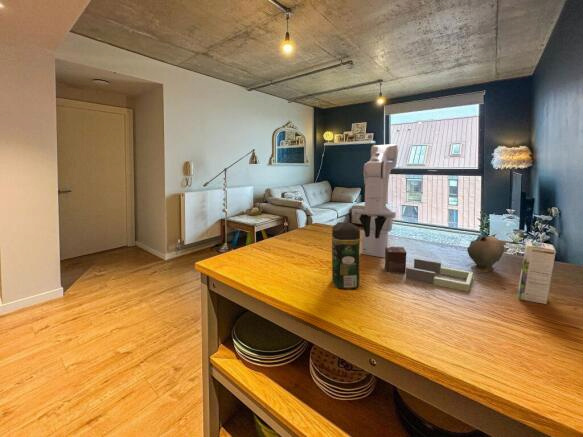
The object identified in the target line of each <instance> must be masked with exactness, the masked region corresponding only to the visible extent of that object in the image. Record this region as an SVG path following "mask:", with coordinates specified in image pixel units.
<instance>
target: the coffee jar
mask: <svg viewBox="0 0 583 437" xmlns="http://www.w3.org/2000/svg"><path fill="white" fill-rule="evenodd" d="M331 236H332V237H331V259H332V260H331V266H332V267H331V272H332V273H331V275H332V284H333V286H335V288H338V289H343V290H352V289H356V288H358V287H359V285H360V247H361V246H360V245H361V242H360V241H361V231H360V228H359V227H358V226H357V225H356V224H354V223H352V222H350V221H349V222H348V221H347V222H345V221H343V222H341V221H340V222H337V223H335V224H334V225H333V226H332V231H331Z"/></svg>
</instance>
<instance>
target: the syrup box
mask: <svg viewBox="0 0 583 437" xmlns="http://www.w3.org/2000/svg"><path fill="white" fill-rule="evenodd" d="M555 257H556V248H555V246H554V245H553V244H550V243H544V242H537V241H526V242H525V245H524V252H523V257H522V264H521V269H520V277H519V282H518V290H517V295H518V299H519V300H520V301H526V302H530V303H531V302H533V303H539V304H542V305H547V303H548V298H549V293H550V286H551V281H552V277H553V276H552V275H553V270H554V263H555V259H556V258H555Z"/></svg>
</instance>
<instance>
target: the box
mask: <svg viewBox="0 0 583 437" xmlns="http://www.w3.org/2000/svg"><path fill="white" fill-rule="evenodd" d="M406 267H407V250H406V249H405V247H403V246H387V247H385V257H384V268H385V272H386V273H387V274H406Z"/></svg>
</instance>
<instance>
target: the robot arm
mask: <svg viewBox="0 0 583 437" xmlns="http://www.w3.org/2000/svg"><path fill="white" fill-rule="evenodd" d="M398 147H399V146H398V143H394V144H378V145H377V144H372V146H371V149H370V159H369V161H367V162H365V163H364V165H363V180H364V181H363V183H364V185H365V186H364V208H361V209H360V208H353V209H352V210H351V215H352V216H359V221H360V223H361V225H362V228H363V232H362V235H361V250H360V251H361V252H360V254H361V255H367V256H373V257H377V258H384V259H385V247H388V243H389V242H388V241H389V240H388V239H389V237H388V236H389V232H391V231H392V230H393V219H396V215H397V212H396V211H391V209H390V208H388V207H387V201H388V189H389V180H390V174H391V172H392V171H391V170H393V169H394V168H396V165H397V163H398V162H397V161H398V152H399V148H398Z"/></svg>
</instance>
